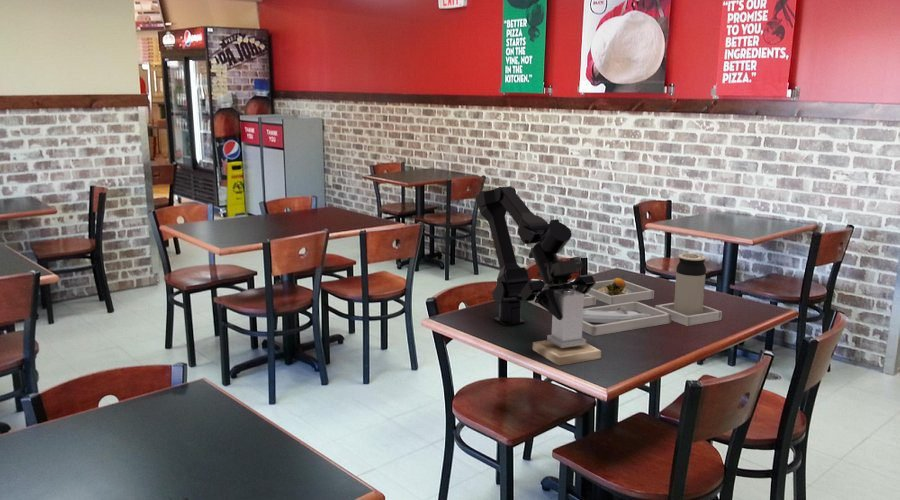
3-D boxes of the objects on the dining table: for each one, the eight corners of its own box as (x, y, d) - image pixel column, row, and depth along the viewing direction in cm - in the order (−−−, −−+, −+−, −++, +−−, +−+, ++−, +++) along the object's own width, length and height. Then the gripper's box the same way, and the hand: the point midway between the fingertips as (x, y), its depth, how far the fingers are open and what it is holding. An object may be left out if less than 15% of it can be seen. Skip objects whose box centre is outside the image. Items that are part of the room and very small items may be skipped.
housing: (547, 339, 182) (549, 288, 179) (571, 336, 185) (573, 285, 182) (561, 348, 176) (563, 295, 173) (585, 344, 179) (588, 292, 176)
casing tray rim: (560, 320, 208) (560, 312, 207) (635, 309, 219) (636, 301, 219) (592, 336, 195) (593, 327, 194) (671, 323, 206) (671, 314, 206)
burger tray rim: (577, 291, 239) (577, 284, 238) (618, 286, 246) (619, 278, 246) (610, 304, 224) (610, 296, 223) (653, 298, 231) (654, 290, 231)
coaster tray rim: (518, 297, 232) (518, 289, 231) (563, 291, 239) (563, 284, 238) (548, 311, 217) (549, 303, 216) (595, 304, 224) (595, 296, 223)
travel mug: (671, 319, 210) (676, 257, 206) (674, 311, 217) (678, 252, 214) (701, 322, 207) (706, 260, 203) (702, 314, 214) (707, 254, 211)
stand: (532, 349, 184) (532, 341, 183) (573, 343, 189) (573, 335, 188) (558, 365, 173) (558, 357, 173) (600, 358, 178) (601, 350, 178)
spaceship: (580, 327, 203) (581, 311, 202) (571, 320, 210) (572, 305, 209) (657, 322, 208) (658, 307, 207) (647, 316, 214) (648, 301, 213)
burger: (610, 289, 243) (611, 267, 242) (641, 296, 235) (642, 273, 233) (588, 295, 235) (589, 273, 234) (619, 303, 227) (620, 279, 225)
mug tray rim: (654, 313, 215) (655, 305, 215) (688, 308, 221) (688, 300, 220) (686, 326, 204) (687, 317, 203) (721, 320, 209) (722, 311, 209)
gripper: (528, 249, 175) (550, 305, 168) (593, 243, 183) (617, 297, 175) (511, 273, 184) (532, 328, 176) (574, 267, 191) (596, 319, 184)
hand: (570, 317), depth 178 cm, fingers closed on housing, 5 cm apart
